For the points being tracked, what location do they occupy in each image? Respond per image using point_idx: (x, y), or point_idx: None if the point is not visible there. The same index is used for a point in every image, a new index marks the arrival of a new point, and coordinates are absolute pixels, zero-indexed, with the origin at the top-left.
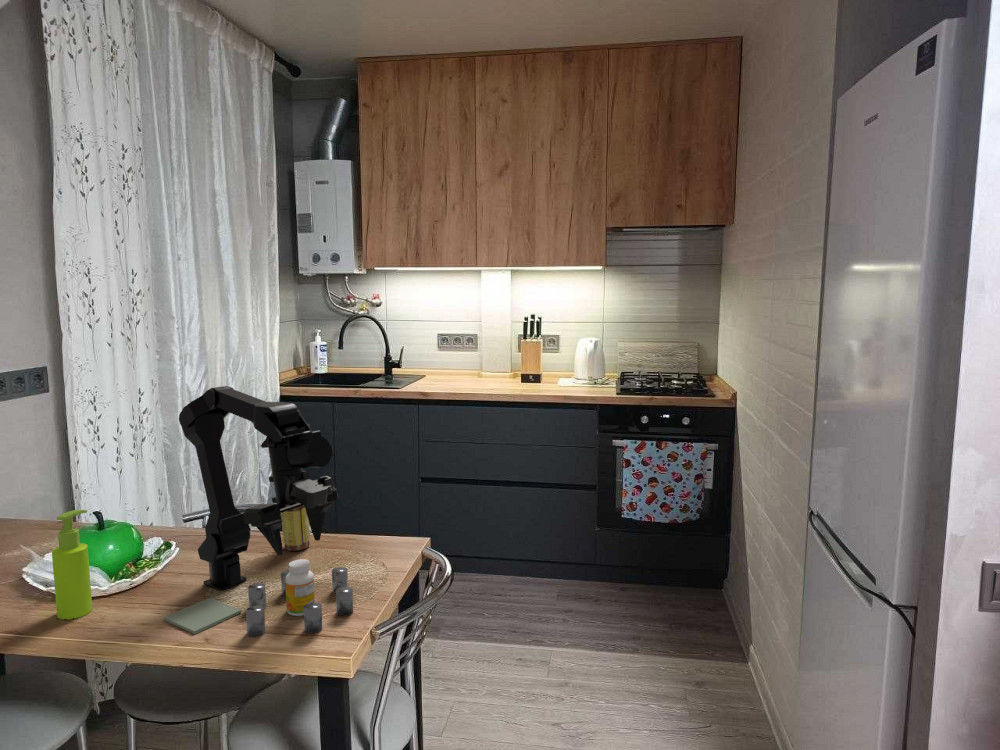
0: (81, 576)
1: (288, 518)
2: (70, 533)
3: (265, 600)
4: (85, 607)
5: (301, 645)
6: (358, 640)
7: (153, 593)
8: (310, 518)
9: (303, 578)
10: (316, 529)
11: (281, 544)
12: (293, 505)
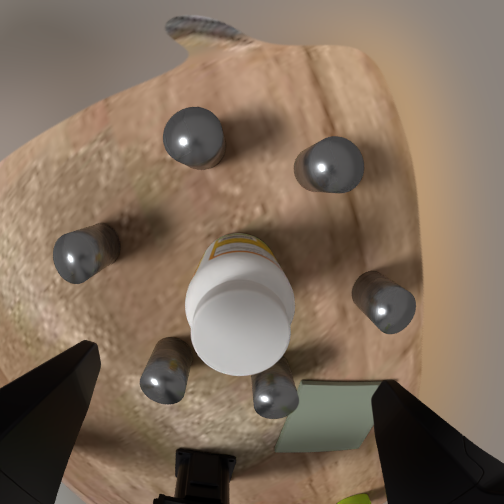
0: None
1: None
2: None
3: None
4: (357, 501)
5: (383, 154)
6: (314, 46)
7: (282, 497)
8: (48, 485)
9: (268, 272)
10: (64, 399)
11: (421, 416)
12: None
